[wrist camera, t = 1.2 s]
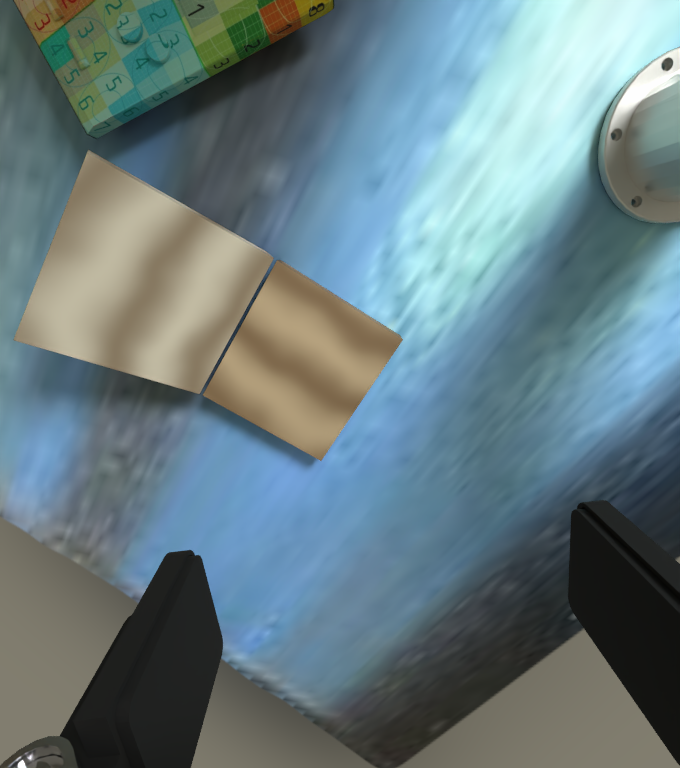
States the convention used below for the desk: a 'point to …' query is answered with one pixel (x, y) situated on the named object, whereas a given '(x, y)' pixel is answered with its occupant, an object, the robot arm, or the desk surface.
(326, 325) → the oak floorboard
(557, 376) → the desk surface
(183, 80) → the puzzle game
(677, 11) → the desk surface
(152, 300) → the birch plank
